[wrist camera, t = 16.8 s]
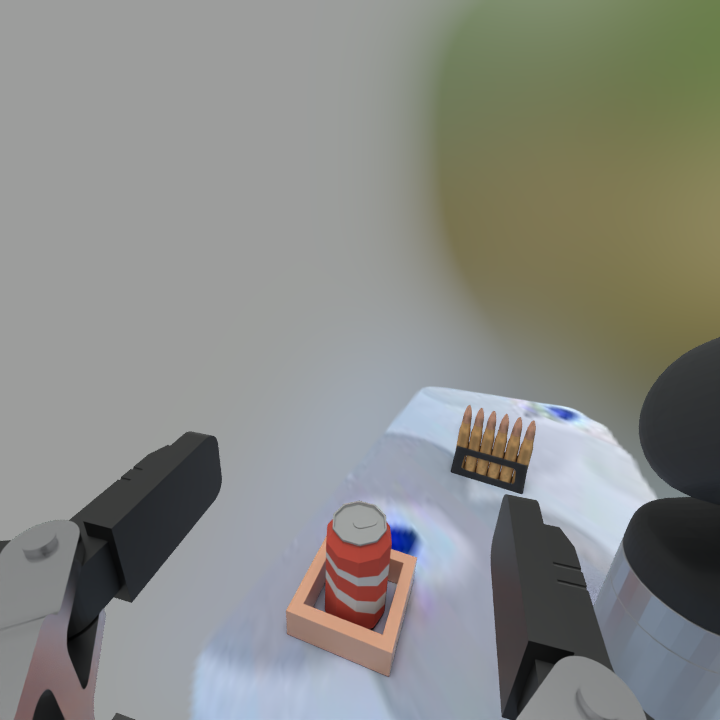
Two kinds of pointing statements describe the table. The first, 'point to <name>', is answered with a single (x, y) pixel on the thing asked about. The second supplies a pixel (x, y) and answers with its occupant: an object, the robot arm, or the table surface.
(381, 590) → the beverage can
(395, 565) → the terracotta collar
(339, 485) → the table surface
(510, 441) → the ammunition clip
